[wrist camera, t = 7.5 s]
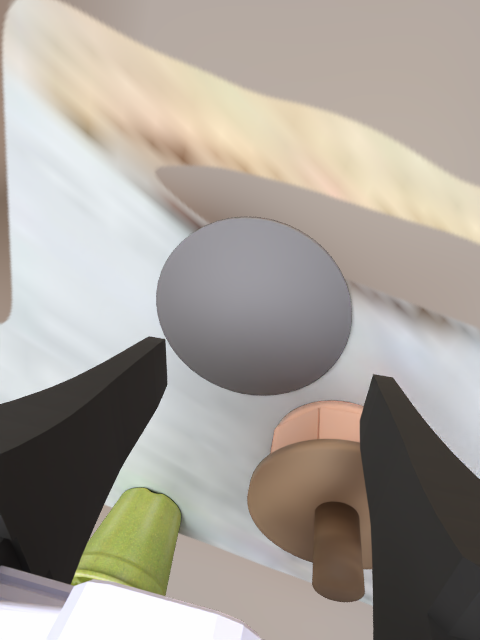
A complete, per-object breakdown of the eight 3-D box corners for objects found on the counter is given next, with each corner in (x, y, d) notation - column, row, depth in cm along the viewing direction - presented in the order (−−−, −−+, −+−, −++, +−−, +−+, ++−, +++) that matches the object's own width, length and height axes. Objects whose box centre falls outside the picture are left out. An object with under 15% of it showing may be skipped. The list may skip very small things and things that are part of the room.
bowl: (418, 414, 24) (435, 471, 20) (383, 501, 29) (392, 561, 25) (280, 389, 26) (272, 439, 22) (267, 476, 30) (258, 529, 26)
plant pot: (157, 462, 32) (106, 567, 25) (218, 529, 35) (188, 641, 28) (87, 485, 36) (24, 582, 29) (147, 544, 39) (104, 646, 32)
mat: (372, 230, 19) (374, 232, 19) (331, 404, 25) (331, 410, 25) (154, 205, 21) (150, 207, 21) (163, 374, 27) (160, 378, 27)
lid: (459, 459, 20) (493, 550, 16) (408, 572, 25) (423, 662, 21) (253, 424, 21) (235, 498, 17) (246, 536, 27) (231, 613, 23)
